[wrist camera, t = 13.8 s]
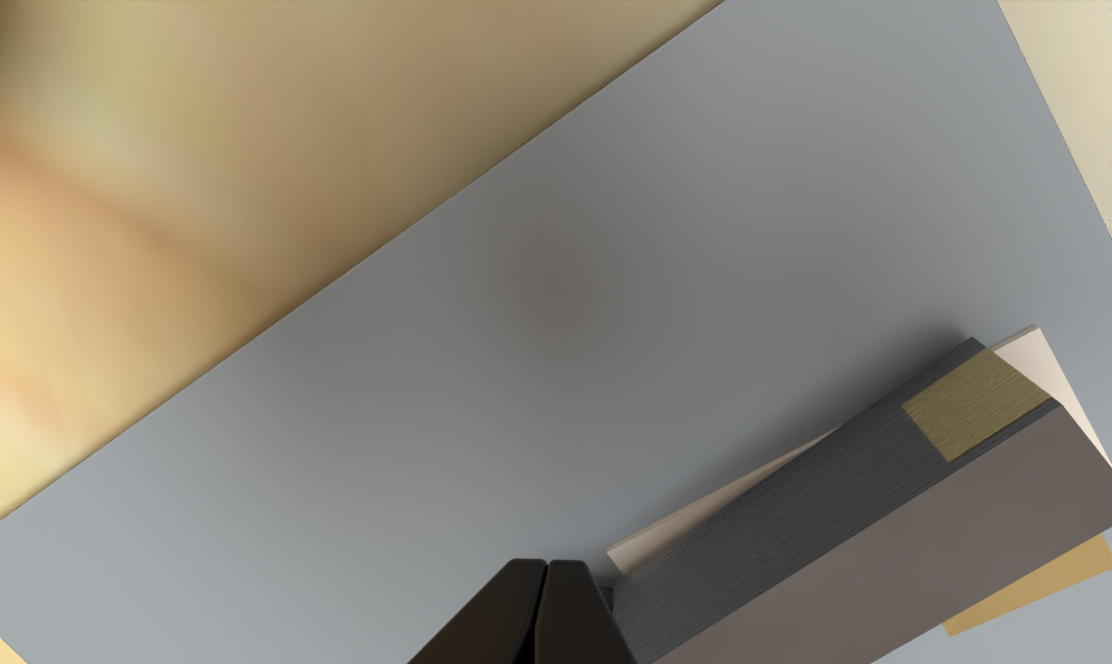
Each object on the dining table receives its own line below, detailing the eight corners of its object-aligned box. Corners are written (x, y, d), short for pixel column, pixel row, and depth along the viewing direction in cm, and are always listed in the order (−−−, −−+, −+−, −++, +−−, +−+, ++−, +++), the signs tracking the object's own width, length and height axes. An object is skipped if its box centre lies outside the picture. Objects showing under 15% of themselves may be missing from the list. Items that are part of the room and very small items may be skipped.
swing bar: (582, 743, 20) (574, 869, 17) (471, 642, 19) (440, 754, 16) (1061, 449, 16) (1170, 542, 13) (947, 305, 15) (1032, 366, 12)
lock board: (-40, 549, 22) (-76, 575, 21) (906, -130, 14) (931, -148, 13) (376, 952, 26) (365, 992, 25) (1269, 606, 19) (1310, 641, 17)
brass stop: (907, 568, 18) (919, 589, 17) (1069, 494, 17) (1090, 513, 16) (936, 614, 18) (949, 637, 18) (1097, 544, 17) (1119, 566, 17)
